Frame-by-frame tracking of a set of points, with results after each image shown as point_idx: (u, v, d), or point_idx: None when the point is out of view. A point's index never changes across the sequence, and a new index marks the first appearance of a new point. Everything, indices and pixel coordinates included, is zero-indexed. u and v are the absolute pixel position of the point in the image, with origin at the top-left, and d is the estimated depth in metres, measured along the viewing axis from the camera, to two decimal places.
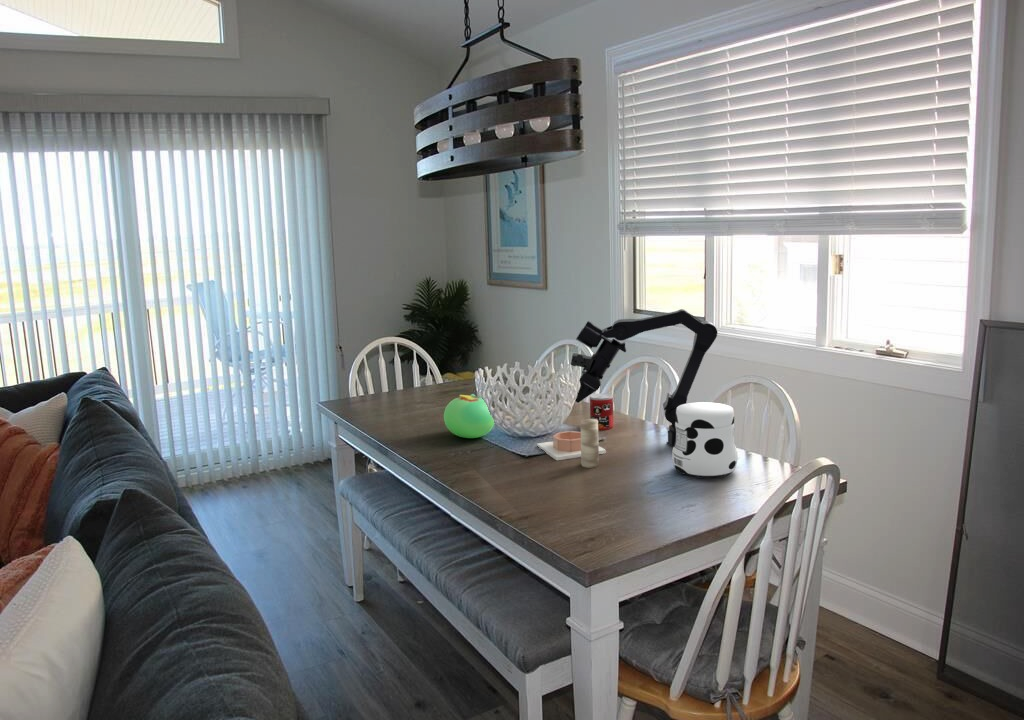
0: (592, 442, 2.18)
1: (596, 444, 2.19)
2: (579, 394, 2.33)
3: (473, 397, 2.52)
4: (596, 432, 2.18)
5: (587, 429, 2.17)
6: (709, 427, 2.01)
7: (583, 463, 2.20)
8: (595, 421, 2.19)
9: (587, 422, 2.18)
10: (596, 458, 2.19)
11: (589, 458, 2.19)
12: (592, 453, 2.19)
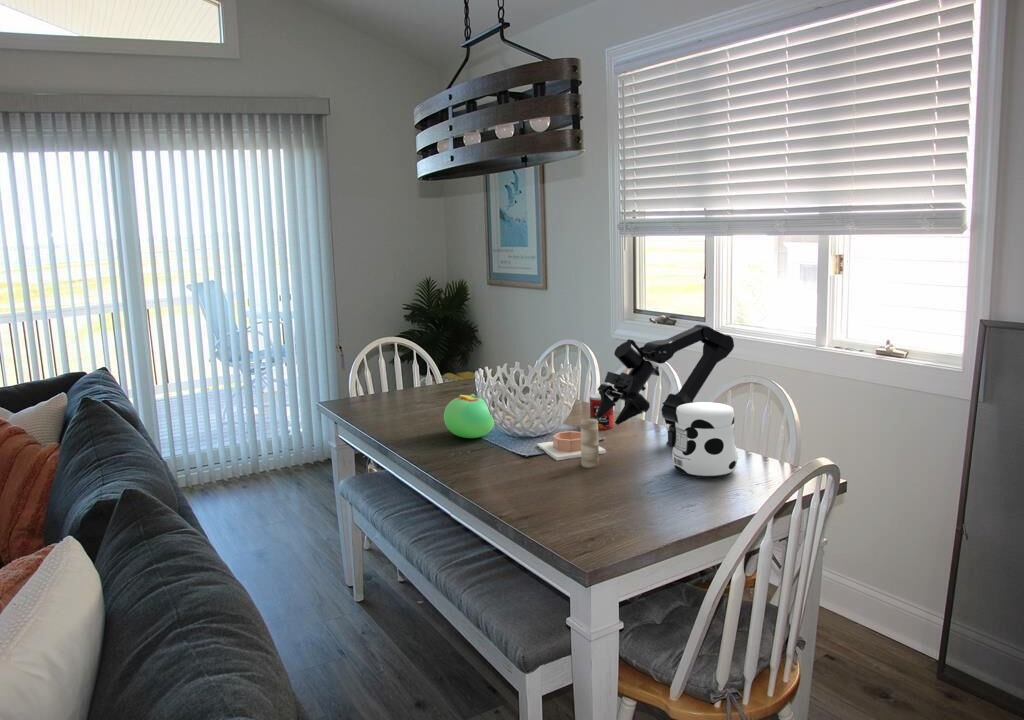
0: (592, 442, 2.18)
1: (596, 444, 2.19)
2: (622, 415, 2.18)
3: (473, 397, 2.52)
4: (596, 432, 2.18)
5: (587, 429, 2.17)
6: (709, 427, 2.01)
7: (583, 463, 2.20)
8: (595, 421, 2.19)
9: (587, 422, 2.18)
10: (596, 458, 2.19)
11: (589, 458, 2.19)
12: (592, 453, 2.19)
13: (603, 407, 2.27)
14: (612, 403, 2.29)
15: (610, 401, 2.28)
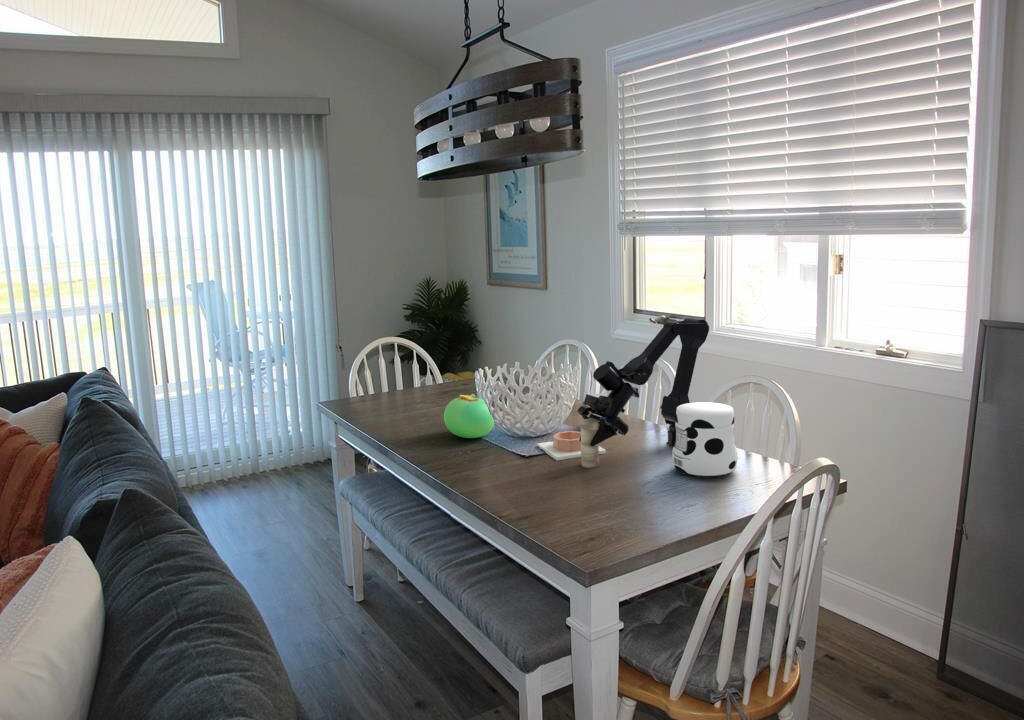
0: None
1: None
2: (597, 437, 2.17)
3: (473, 397, 2.52)
4: None
5: (587, 429, 2.17)
6: (709, 427, 2.01)
7: (583, 463, 2.20)
8: (595, 421, 2.19)
9: (587, 422, 2.18)
10: (596, 458, 2.19)
11: (589, 458, 2.19)
12: (592, 453, 2.19)
13: None
14: None
15: None
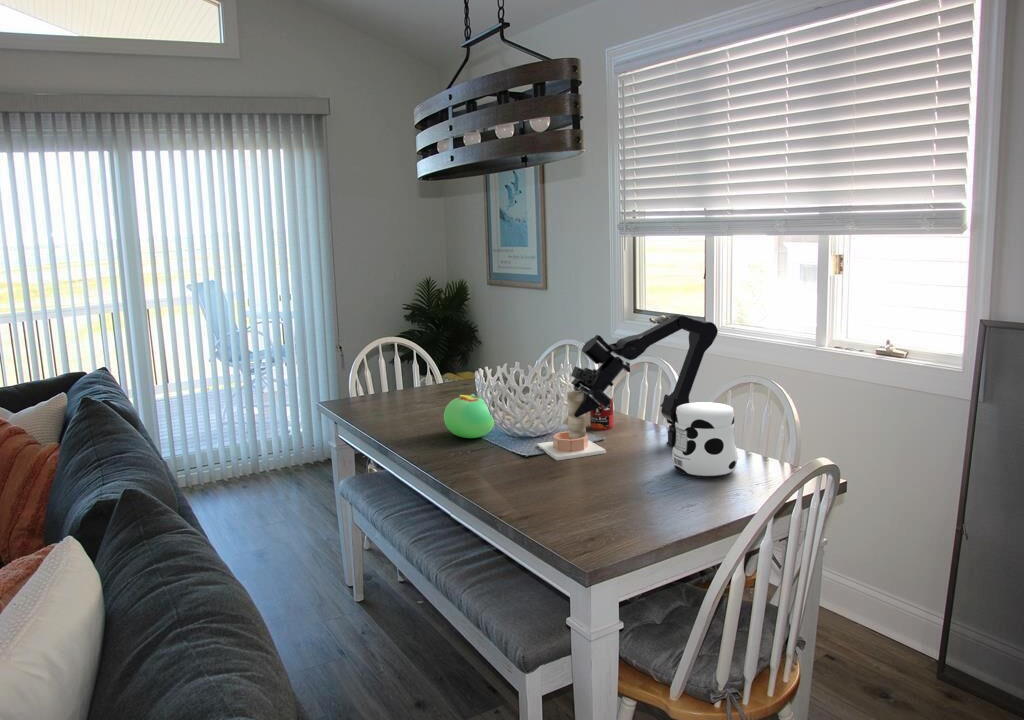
0: None
1: (581, 415, 2.24)
2: (580, 408, 2.23)
3: (473, 397, 2.52)
4: None
5: (572, 400, 2.23)
6: (709, 427, 2.01)
7: (569, 433, 2.27)
8: (581, 393, 2.24)
9: (573, 393, 2.24)
10: (581, 429, 2.25)
11: (574, 429, 2.25)
12: (577, 424, 2.24)
13: None
14: None
15: None
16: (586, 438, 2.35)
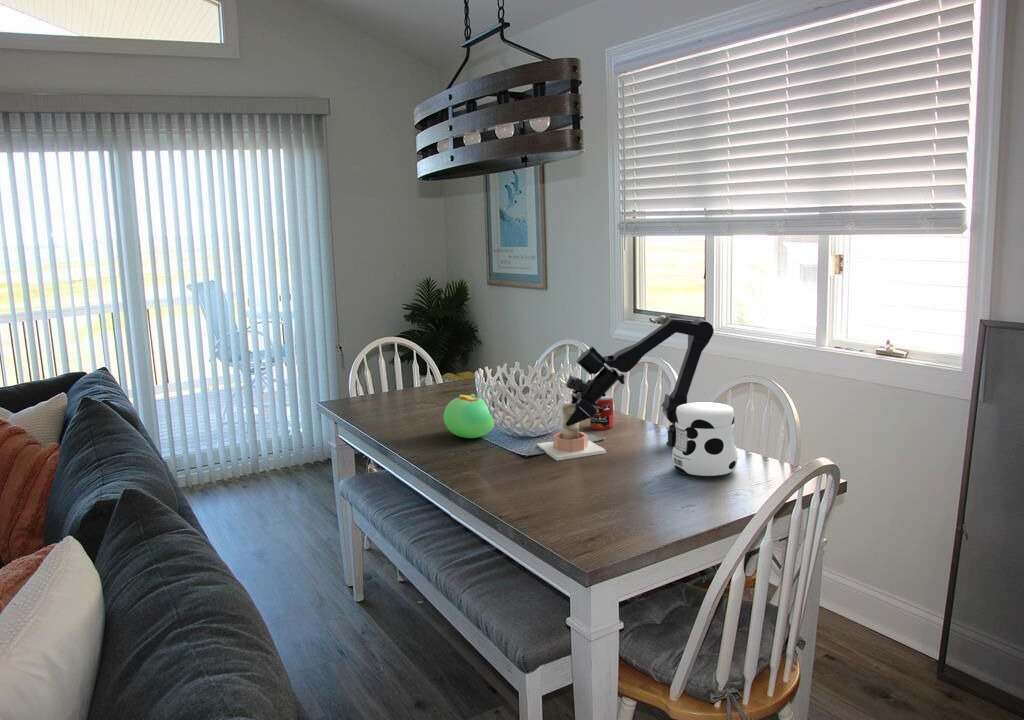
0: None
1: (573, 427, 2.33)
2: (571, 418, 2.30)
3: (473, 397, 2.52)
4: None
5: (565, 412, 2.33)
6: (709, 427, 2.01)
7: None
8: (574, 406, 2.33)
9: (566, 406, 2.34)
10: None
11: None
12: (569, 436, 2.34)
13: None
14: None
15: None
16: (586, 438, 2.35)
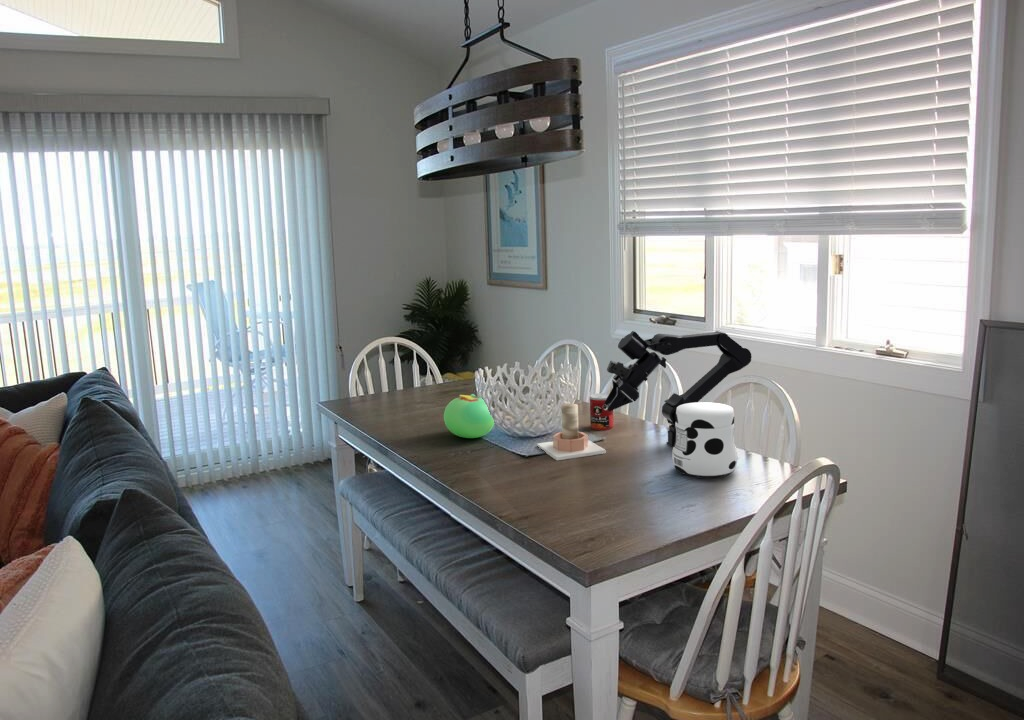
0: (568, 425, 2.33)
1: (572, 427, 2.33)
2: (613, 403, 2.27)
3: (473, 397, 2.52)
4: (573, 416, 2.33)
5: (564, 413, 2.33)
6: (709, 427, 2.01)
7: None
8: (573, 406, 2.33)
9: (565, 406, 2.34)
10: None
11: None
12: (568, 436, 2.34)
13: (612, 395, 2.37)
14: None
15: (620, 390, 2.37)
16: (586, 438, 2.35)
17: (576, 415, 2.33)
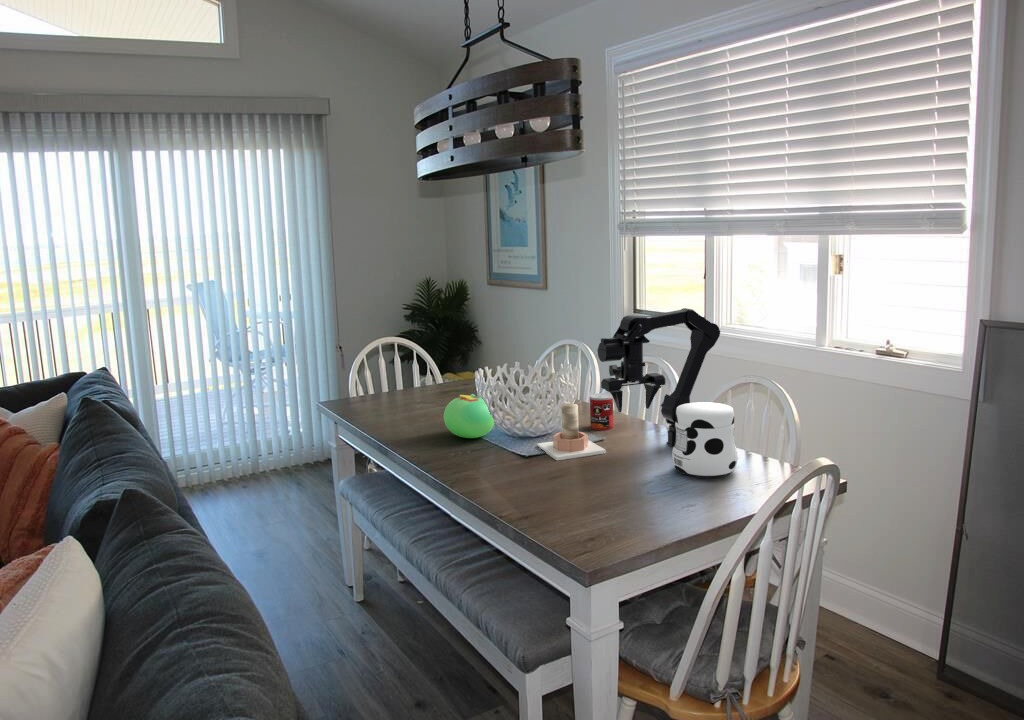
0: (568, 425, 2.33)
1: (572, 427, 2.33)
2: None
3: (473, 397, 2.52)
4: (573, 416, 2.33)
5: (564, 413, 2.33)
6: (709, 427, 2.01)
7: None
8: (573, 406, 2.33)
9: (565, 406, 2.34)
10: None
11: None
12: (568, 436, 2.34)
13: (646, 397, 2.31)
14: (651, 388, 2.29)
15: (649, 387, 2.30)
16: (586, 438, 2.35)
17: (576, 415, 2.33)
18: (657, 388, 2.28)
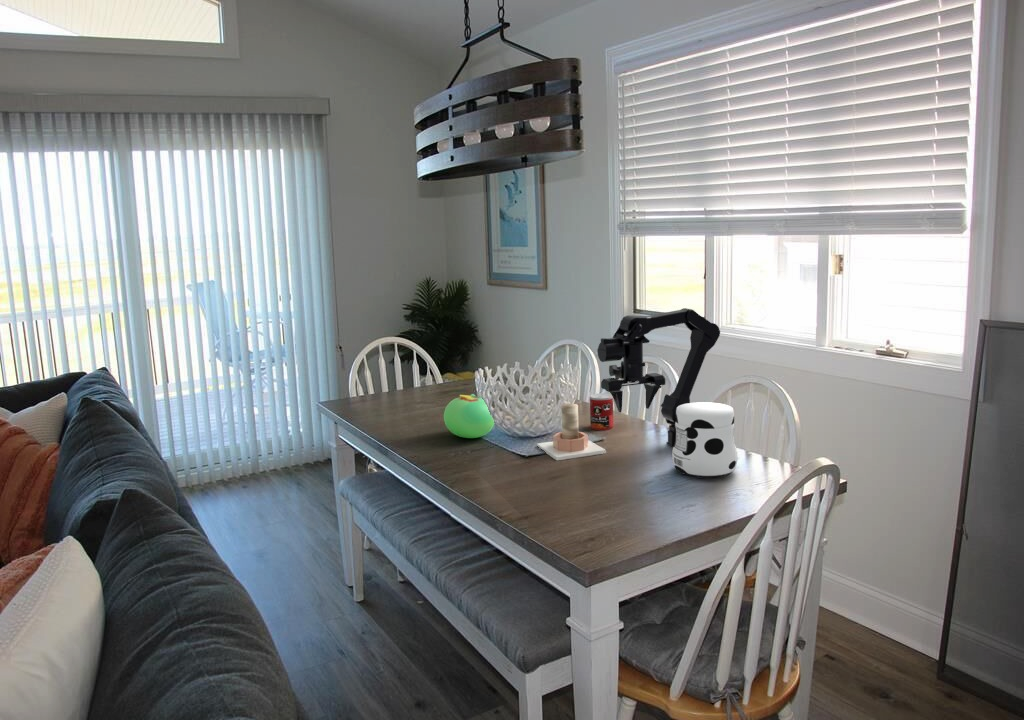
0: (568, 425, 2.33)
1: (572, 427, 2.33)
2: (615, 403, 2.28)
3: (473, 397, 2.52)
4: (573, 416, 2.33)
5: (564, 413, 2.33)
6: (709, 427, 2.01)
7: None
8: (574, 406, 2.33)
9: (565, 406, 2.34)
10: None
11: None
12: (568, 436, 2.34)
13: (646, 397, 2.31)
14: (651, 388, 2.29)
15: (649, 387, 2.30)
16: (586, 438, 2.35)
17: (576, 415, 2.33)
18: (657, 388, 2.28)
